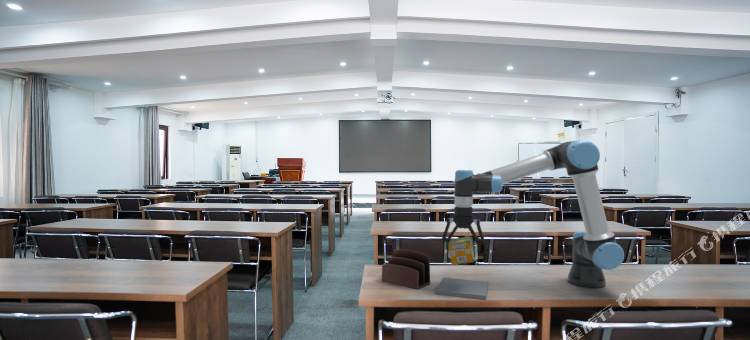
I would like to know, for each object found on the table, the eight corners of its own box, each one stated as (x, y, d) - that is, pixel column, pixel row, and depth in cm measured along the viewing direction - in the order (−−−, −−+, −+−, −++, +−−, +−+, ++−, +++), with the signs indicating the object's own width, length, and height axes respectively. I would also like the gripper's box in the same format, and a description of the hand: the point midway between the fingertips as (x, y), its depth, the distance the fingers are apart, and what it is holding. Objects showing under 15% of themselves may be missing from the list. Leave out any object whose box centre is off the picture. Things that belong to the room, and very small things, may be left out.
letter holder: (394, 276, 191) (394, 246, 191) (430, 284, 178) (430, 253, 178) (381, 281, 183) (381, 250, 183) (418, 290, 171) (418, 257, 170)
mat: (488, 285, 177) (488, 281, 177) (485, 299, 158) (485, 295, 158) (442, 280, 184) (442, 277, 184) (435, 294, 165) (435, 290, 165)
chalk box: (447, 243, 164) (451, 237, 178) (451, 265, 164) (455, 257, 178) (469, 240, 161) (472, 234, 175) (474, 262, 161) (476, 255, 175)
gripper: (435, 206, 170) (434, 258, 171) (491, 208, 163) (490, 262, 164) (438, 204, 178) (437, 254, 178) (491, 206, 170) (491, 258, 171)
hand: (462, 258), depth 171 cm, fingers closed on chalk box, 10 cm apart
